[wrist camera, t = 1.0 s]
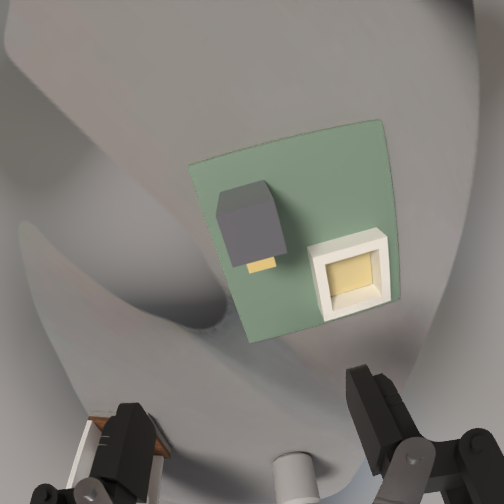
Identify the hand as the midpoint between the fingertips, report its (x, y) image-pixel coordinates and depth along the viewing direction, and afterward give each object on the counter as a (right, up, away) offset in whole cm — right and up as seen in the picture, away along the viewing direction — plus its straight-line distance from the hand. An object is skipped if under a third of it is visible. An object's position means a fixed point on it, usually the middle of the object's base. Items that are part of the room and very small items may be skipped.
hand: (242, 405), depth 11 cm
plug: (0, +10, +17) cm, 20 cm away
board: (+6, +7, +20) cm, 22 cm away
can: (+8, -33, +38) cm, 51 cm away
